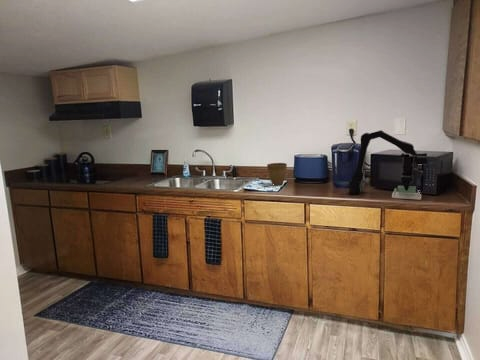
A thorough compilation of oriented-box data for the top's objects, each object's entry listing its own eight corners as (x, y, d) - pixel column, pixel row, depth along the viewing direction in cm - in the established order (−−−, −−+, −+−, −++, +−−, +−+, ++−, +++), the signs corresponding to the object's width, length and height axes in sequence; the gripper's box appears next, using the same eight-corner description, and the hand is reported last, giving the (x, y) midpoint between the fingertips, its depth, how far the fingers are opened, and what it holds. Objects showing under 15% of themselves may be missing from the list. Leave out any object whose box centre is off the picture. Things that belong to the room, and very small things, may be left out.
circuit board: (397, 192, 218) (397, 187, 217) (398, 190, 223) (398, 185, 222) (415, 193, 213) (415, 188, 213) (415, 191, 219) (415, 186, 218)
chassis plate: (391, 197, 217) (392, 192, 216) (393, 193, 227) (393, 187, 227) (421, 199, 210) (421, 193, 209) (421, 194, 220) (421, 189, 220)
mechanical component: (367, 193, 231) (367, 178, 229) (354, 190, 239) (354, 176, 237) (370, 192, 233) (370, 177, 231) (356, 190, 241) (357, 175, 239)
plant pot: (289, 183, 274) (289, 162, 271) (283, 187, 261) (283, 165, 258) (271, 182, 281) (270, 162, 278) (264, 186, 267) (264, 165, 264)
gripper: (422, 167, 203) (421, 193, 206) (422, 162, 219) (421, 186, 222) (401, 166, 208) (400, 192, 211) (402, 161, 224) (401, 185, 227)
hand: (406, 189), depth 218 cm, fingers closed on circuit board, 6 cm apart
